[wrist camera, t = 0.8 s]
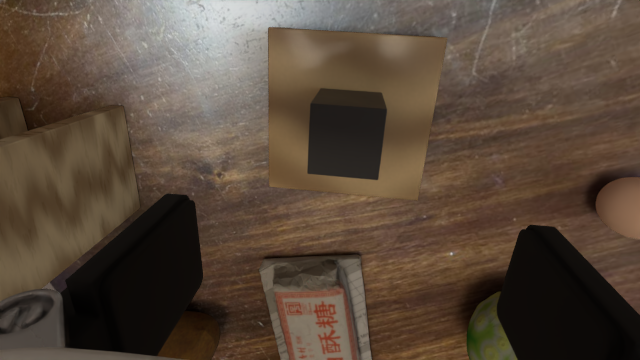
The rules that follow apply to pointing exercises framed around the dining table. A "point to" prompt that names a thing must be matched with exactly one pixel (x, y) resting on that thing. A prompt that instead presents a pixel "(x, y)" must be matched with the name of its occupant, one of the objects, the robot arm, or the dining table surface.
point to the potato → (192, 338)
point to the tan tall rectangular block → (59, 191)
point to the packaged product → (317, 307)
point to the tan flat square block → (358, 75)
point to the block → (346, 133)
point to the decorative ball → (488, 333)
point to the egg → (621, 206)
